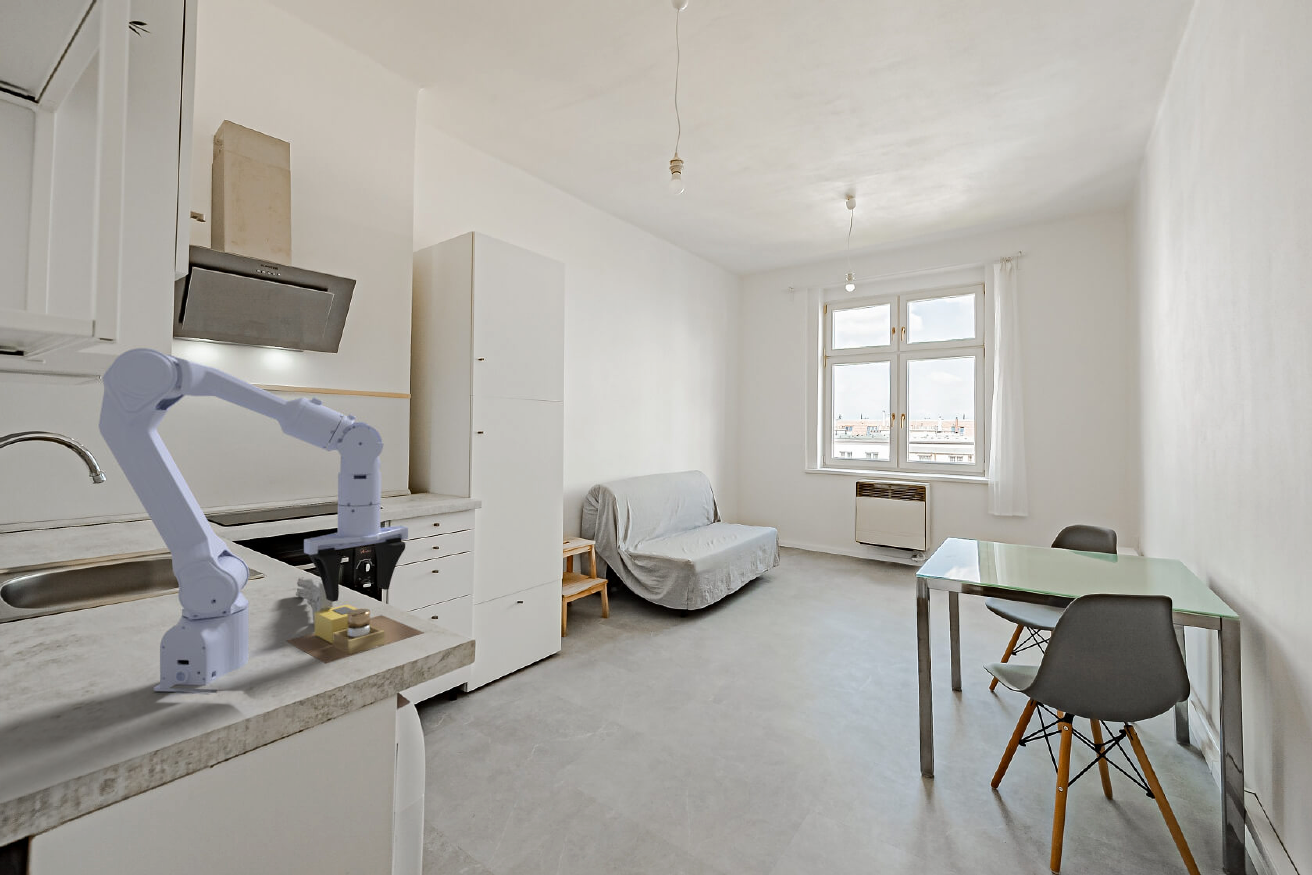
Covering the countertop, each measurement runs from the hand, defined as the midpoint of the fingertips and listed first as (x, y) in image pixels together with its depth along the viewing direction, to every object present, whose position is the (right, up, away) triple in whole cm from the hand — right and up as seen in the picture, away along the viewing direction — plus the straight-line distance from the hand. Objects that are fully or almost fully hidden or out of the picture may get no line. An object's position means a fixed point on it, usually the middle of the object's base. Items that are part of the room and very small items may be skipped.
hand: (358, 593), depth 86 cm
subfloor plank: (-2, -9, +4) cm, 10 cm away
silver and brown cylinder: (0, -8, 0) cm, 8 cm away
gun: (-16, -8, +16) cm, 24 cm away
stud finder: (-5, -8, +4) cm, 10 cm away
